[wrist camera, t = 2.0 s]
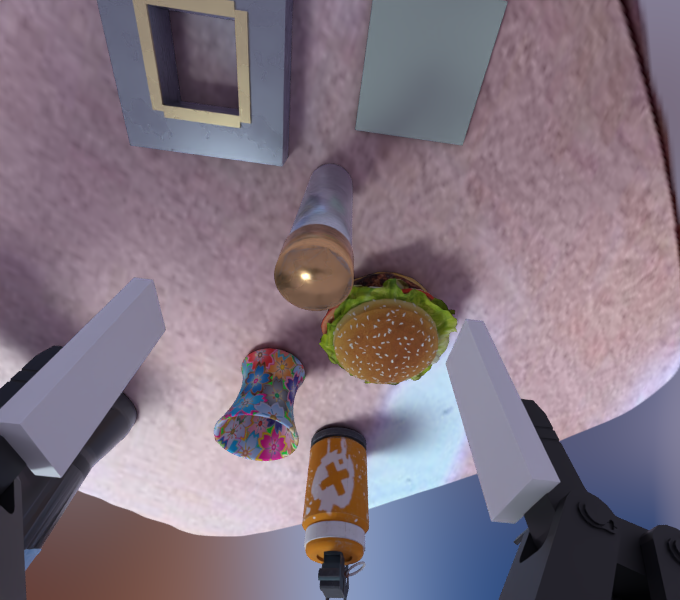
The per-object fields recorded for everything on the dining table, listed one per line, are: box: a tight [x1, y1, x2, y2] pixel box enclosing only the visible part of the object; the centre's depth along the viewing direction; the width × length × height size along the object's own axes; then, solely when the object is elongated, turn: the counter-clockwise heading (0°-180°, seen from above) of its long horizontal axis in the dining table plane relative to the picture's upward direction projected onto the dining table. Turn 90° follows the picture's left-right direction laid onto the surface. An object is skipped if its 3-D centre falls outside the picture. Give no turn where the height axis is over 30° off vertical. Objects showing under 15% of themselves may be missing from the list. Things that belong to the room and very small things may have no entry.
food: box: [319, 272, 457, 385], centre depth 36 cm, size 14×14×8 cm
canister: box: [302, 428, 369, 600], centre depth 47 cm, size 9×11×20 cm
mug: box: [214, 348, 305, 461], centre depth 41 cm, size 12×9×11 cm
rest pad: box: [355, 0, 508, 145], centre depth 25 cm, size 9×9×1 cm
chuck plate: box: [97, 0, 293, 166], centre depth 24 cm, size 12×12×3 cm
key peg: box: [274, 164, 354, 311], centre depth 24 cm, size 4×4×16 cm
